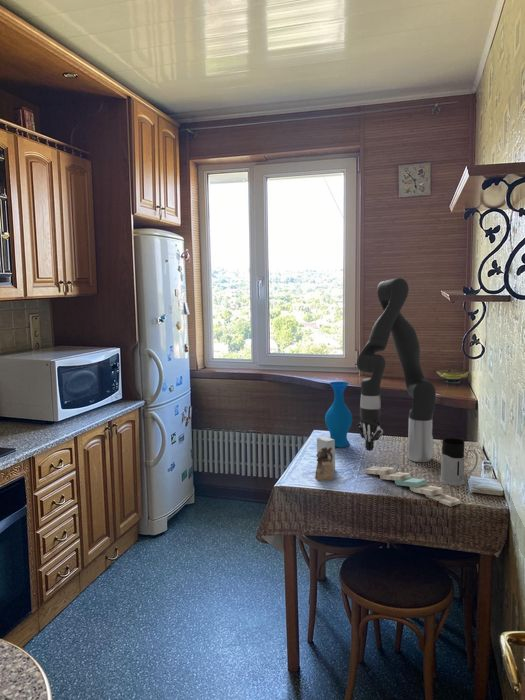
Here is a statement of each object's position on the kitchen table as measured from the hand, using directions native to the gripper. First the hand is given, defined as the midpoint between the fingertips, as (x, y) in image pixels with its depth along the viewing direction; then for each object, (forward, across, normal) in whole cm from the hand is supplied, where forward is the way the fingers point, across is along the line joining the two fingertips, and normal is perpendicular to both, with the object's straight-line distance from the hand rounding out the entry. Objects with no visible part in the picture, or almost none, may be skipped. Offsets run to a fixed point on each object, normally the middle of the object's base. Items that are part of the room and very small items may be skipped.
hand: (369, 450), depth 202 cm
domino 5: (+8, +28, 0) cm, 29 cm away
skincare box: (+9, -12, -11) cm, 19 cm away
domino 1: (+8, 0, 0) cm, 8 cm away
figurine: (+9, -6, -18) cm, 21 cm away
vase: (+9, -32, +14) cm, 36 cm away
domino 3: (+8, +15, 0) cm, 17 cm away
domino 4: (+8, +22, 0) cm, 23 cm away
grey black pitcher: (+9, +28, +17) cm, 33 cm away
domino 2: (+8, +8, 0) cm, 11 cm away
